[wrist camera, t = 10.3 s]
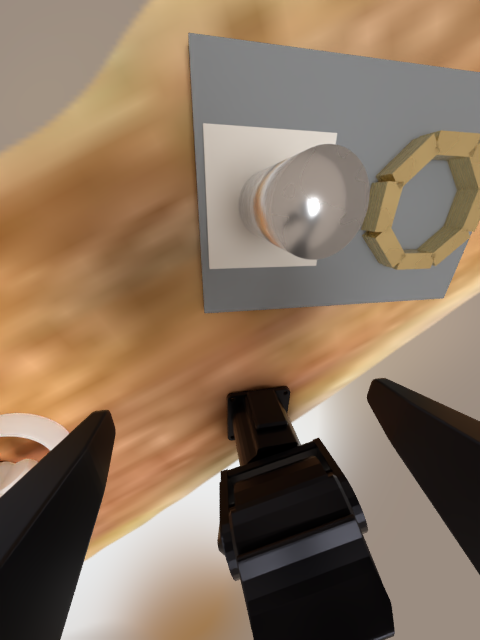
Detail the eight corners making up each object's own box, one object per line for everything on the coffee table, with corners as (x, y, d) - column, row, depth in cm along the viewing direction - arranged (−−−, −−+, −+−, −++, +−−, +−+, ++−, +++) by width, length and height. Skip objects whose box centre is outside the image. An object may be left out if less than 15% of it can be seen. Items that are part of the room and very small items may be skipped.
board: (433, 294, 23) (443, 298, 22) (204, 308, 19) (204, 313, 18) (517, 86, 16) (536, 80, 15) (188, 44, 12) (188, 32, 11)
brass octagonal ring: (441, 263, 20) (458, 267, 19) (352, 266, 19) (365, 270, 17) (489, 141, 16) (515, 136, 15) (383, 133, 15) (401, 127, 14)
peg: (301, 170, 15) (382, 147, 9) (294, 237, 16) (355, 258, 10) (239, 167, 14) (276, 140, 8) (238, 237, 16) (268, 260, 10)
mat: (314, 264, 18) (316, 265, 18) (209, 267, 17) (209, 268, 16) (334, 134, 14) (337, 132, 14) (202, 124, 13) (203, 123, 13)
